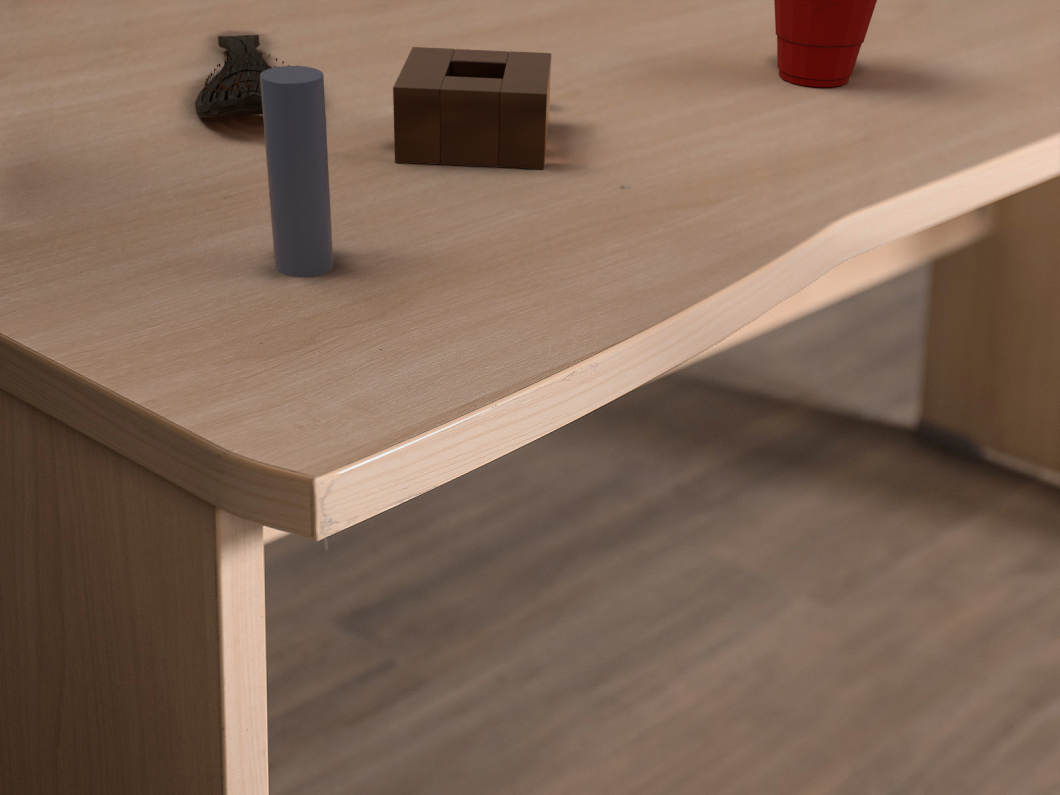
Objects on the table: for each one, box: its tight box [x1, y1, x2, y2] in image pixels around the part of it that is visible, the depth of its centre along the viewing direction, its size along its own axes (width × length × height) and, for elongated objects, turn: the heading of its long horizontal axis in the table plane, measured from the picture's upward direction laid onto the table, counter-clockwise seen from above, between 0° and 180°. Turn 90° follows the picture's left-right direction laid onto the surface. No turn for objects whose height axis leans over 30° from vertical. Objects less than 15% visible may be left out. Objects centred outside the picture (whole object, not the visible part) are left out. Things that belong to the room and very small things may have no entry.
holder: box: [392, 46, 552, 170], centre depth 83 cm, size 10×10×5 cm
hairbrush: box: [194, 34, 291, 119], centre depth 92 cm, size 8×4×25 cm
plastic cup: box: [773, 0, 878, 88], centre depth 98 cm, size 11×11×12 cm
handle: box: [260, 65, 334, 278], centre depth 62 cm, size 3×3×11 cm
